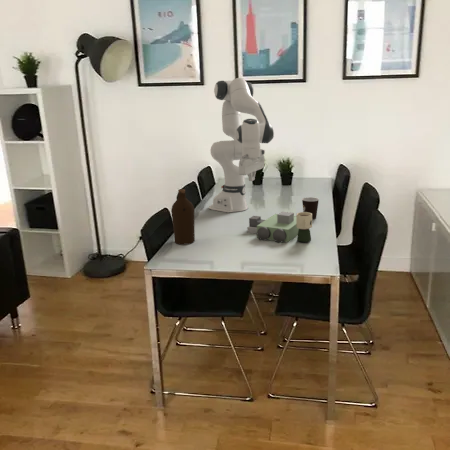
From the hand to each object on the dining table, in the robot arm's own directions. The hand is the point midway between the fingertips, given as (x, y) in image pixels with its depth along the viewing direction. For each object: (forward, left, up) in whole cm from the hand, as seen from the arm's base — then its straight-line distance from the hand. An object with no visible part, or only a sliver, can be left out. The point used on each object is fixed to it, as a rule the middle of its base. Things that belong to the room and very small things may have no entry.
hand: (251, 180), depth 256 cm
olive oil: (-18, -36, -23) cm, 46 cm away
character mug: (+33, -14, -23) cm, 43 cm away
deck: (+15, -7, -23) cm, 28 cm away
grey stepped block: (+7, -7, -23) cm, 25 cm away
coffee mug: (+22, +25, -23) cm, 41 cm away
